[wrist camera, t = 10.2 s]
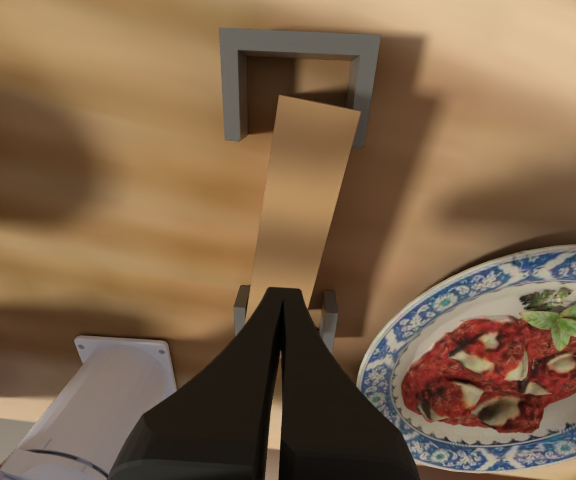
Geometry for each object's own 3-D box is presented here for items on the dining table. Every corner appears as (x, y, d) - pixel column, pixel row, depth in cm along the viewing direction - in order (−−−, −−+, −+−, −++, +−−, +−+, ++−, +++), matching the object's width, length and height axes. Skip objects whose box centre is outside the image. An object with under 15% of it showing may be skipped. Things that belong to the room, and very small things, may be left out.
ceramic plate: (509, 473, 33) (528, 506, 30) (303, 404, 29) (304, 436, 26) (762, 312, 22) (826, 343, 19) (487, 166, 18) (519, 179, 15)
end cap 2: (327, 337, 24) (330, 362, 22) (242, 332, 25) (236, 356, 22) (334, 291, 22) (338, 313, 20) (240, 285, 22) (233, 307, 20)
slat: (295, 308, 23) (294, 359, 19) (252, 301, 23) (241, 350, 19) (345, 106, 17) (360, 111, 12) (285, 94, 17) (279, 95, 12)
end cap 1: (355, 140, 17) (363, 147, 15) (234, 134, 17) (224, 140, 15) (369, 43, 15) (381, 34, 13) (231, 37, 15) (218, 27, 13)
